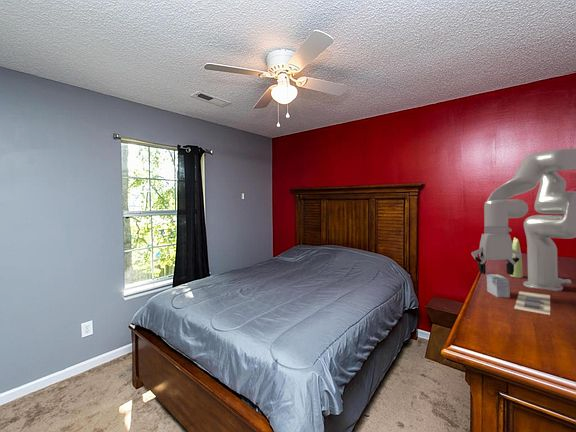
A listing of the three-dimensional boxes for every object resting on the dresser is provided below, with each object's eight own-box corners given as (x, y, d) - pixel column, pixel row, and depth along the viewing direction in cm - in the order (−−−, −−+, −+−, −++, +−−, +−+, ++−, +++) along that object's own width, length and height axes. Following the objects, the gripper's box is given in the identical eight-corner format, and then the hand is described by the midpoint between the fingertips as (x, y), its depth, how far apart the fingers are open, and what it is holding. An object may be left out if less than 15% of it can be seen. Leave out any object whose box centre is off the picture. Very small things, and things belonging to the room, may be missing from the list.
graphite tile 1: (524, 303, 98) (524, 300, 98) (540, 305, 96) (540, 303, 95) (524, 306, 95) (524, 303, 95) (539, 309, 93) (539, 306, 93)
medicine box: (510, 301, 105) (509, 279, 105) (497, 301, 106) (496, 279, 106) (498, 294, 113) (498, 274, 112) (486, 294, 114) (486, 274, 113)
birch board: (519, 294, 112) (519, 291, 112) (550, 299, 105) (550, 295, 105) (514, 312, 94) (514, 308, 94) (550, 319, 88) (550, 314, 88)
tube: (526, 277, 135) (525, 238, 134) (518, 278, 133) (517, 239, 133) (514, 275, 140) (514, 237, 140) (507, 276, 139) (506, 237, 138)
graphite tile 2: (526, 298, 103) (526, 296, 103) (540, 301, 100) (540, 298, 100) (525, 301, 100) (525, 299, 100) (540, 304, 97) (540, 301, 97)
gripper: (514, 230, 110) (514, 272, 111) (467, 230, 114) (467, 271, 114) (527, 231, 103) (527, 276, 103) (476, 231, 106) (476, 275, 107)
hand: (496, 273), depth 109 cm, fingers open, 9 cm apart
